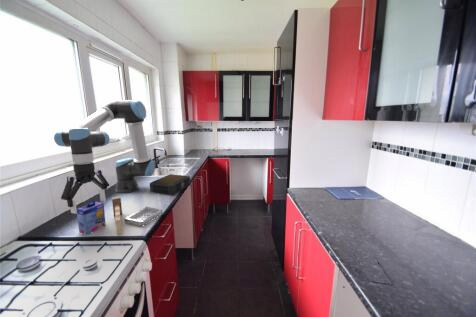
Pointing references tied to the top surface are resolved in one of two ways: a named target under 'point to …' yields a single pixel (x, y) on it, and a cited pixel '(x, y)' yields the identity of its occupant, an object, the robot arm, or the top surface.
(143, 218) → the index tray
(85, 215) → the ink cartridge box
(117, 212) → the door edge board
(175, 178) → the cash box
